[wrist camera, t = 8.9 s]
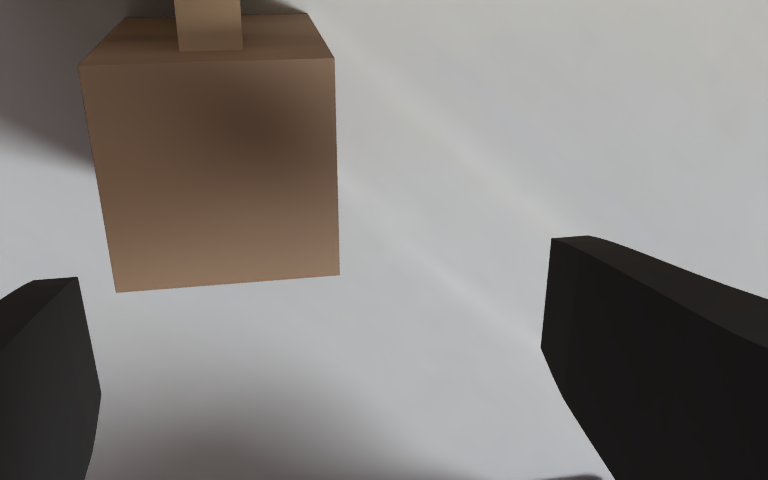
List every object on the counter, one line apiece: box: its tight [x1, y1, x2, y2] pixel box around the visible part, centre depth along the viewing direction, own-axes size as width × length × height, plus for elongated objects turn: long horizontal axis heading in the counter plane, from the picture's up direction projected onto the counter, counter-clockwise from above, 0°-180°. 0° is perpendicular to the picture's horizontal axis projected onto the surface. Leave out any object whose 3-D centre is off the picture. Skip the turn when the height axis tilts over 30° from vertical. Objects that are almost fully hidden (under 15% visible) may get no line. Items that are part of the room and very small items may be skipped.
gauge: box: [78, 0, 340, 293], centre depth 16 cm, size 9×4×6 cm, turn 179°
